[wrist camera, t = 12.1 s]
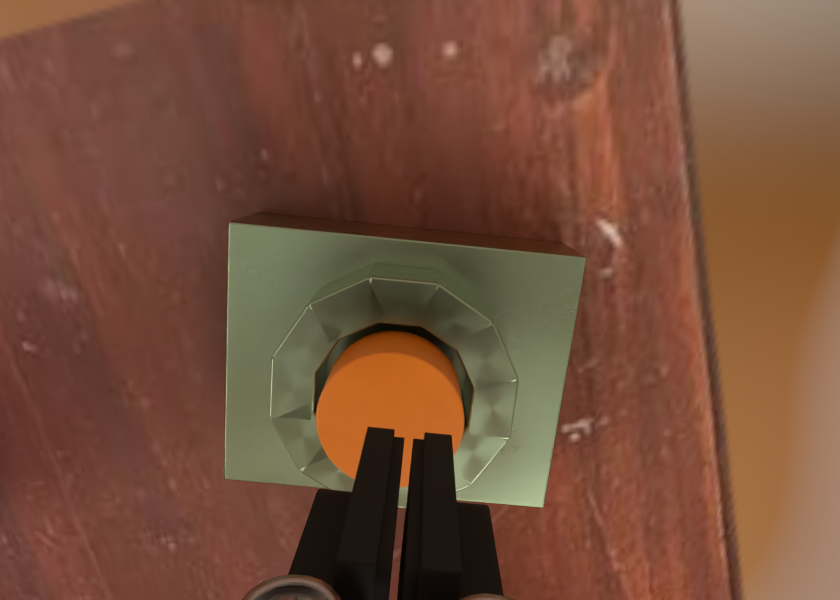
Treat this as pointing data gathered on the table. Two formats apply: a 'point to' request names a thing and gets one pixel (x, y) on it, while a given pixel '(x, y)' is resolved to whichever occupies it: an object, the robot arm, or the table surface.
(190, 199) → the table surface
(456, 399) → the button
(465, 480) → the control block
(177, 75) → the table surface
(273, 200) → the table surface
